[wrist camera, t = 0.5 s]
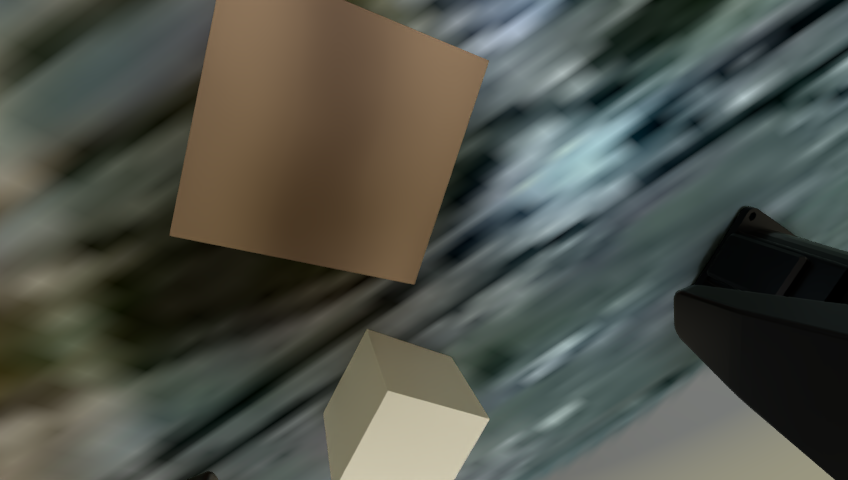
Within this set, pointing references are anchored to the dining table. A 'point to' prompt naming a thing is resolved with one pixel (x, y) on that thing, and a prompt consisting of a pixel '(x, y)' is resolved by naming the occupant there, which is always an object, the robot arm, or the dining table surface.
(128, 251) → the dining table surface
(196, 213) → the walnut block
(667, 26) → the dining table surface
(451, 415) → the cube
